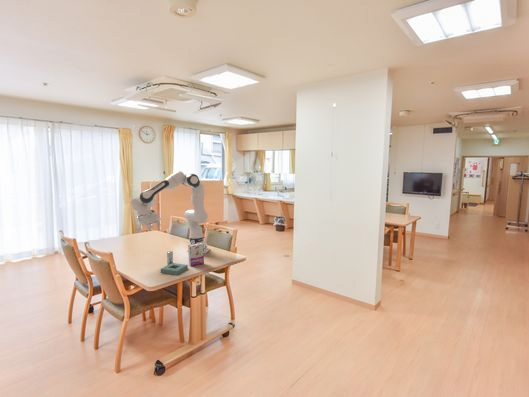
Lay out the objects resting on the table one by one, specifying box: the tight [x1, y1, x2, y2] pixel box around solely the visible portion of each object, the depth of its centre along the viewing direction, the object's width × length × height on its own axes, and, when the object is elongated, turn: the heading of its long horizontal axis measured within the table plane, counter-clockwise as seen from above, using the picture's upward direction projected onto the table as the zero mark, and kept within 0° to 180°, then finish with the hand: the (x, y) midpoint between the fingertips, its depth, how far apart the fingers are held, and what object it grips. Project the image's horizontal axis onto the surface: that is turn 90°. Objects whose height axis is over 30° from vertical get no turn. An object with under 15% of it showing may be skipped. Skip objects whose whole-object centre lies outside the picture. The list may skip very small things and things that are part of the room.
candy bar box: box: [187, 243, 205, 267], centre depth 237 cm, size 11×5×16 cm, turn 126°
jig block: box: [160, 262, 189, 276], centre depth 223 cm, size 14×14×3 cm
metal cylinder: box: [166, 250, 174, 266], centre depth 237 cm, size 4×4×10 cm
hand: (156, 227), depth 239 cm, fingers open, 8 cm apart
